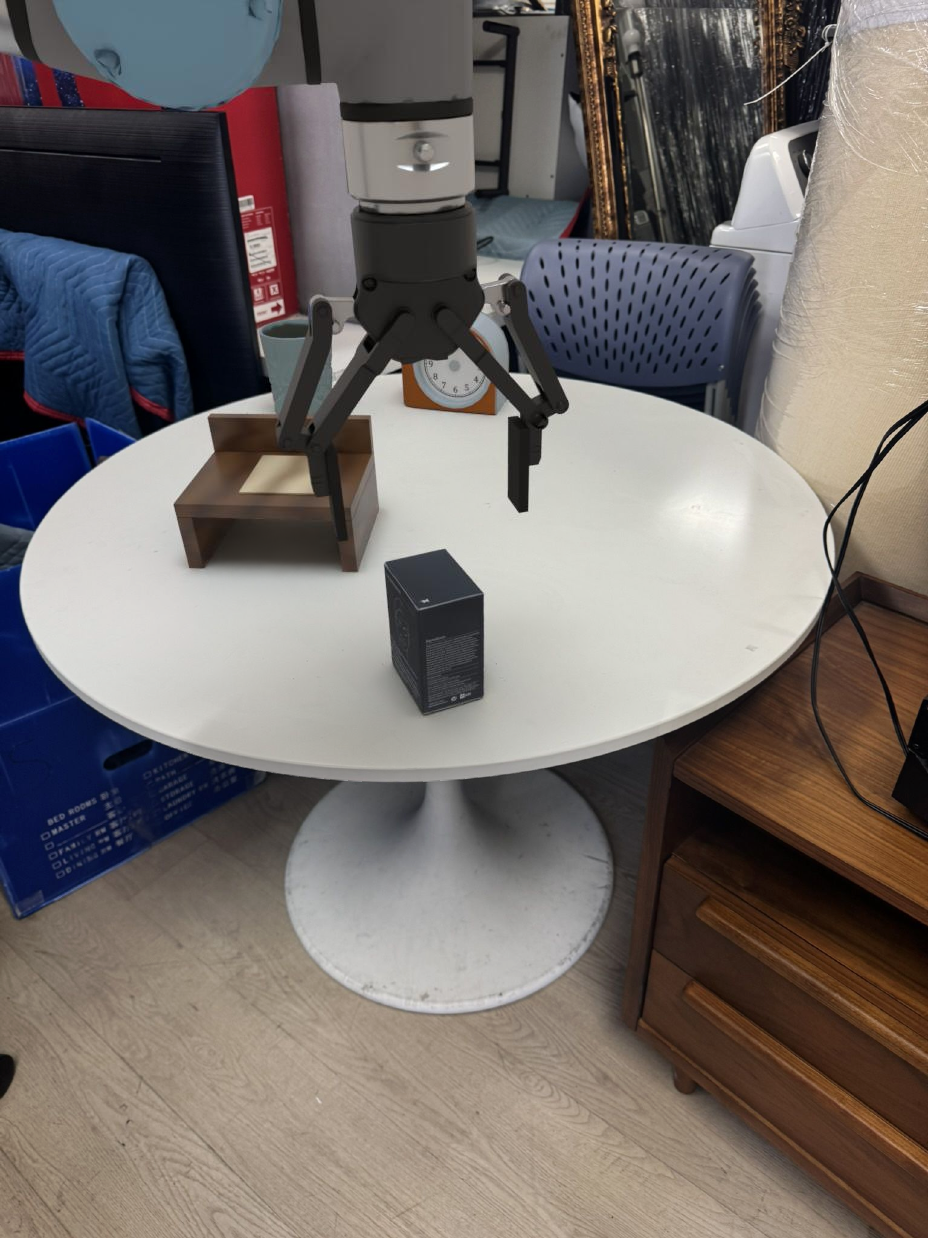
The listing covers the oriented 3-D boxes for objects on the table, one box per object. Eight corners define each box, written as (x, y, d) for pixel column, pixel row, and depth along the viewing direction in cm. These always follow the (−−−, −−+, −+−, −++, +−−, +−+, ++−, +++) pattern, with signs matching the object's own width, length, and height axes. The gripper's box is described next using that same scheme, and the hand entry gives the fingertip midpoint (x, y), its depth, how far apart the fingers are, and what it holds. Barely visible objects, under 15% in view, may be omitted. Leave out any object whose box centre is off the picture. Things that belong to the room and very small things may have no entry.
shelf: (188, 567, 86) (163, 467, 79) (229, 505, 97) (210, 413, 91) (357, 571, 85) (346, 469, 78) (379, 508, 96) (370, 414, 89)
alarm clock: (399, 407, 122) (393, 313, 115) (417, 387, 129) (413, 298, 121) (494, 415, 119) (495, 320, 111) (508, 395, 125) (510, 304, 118)
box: (485, 698, 68) (485, 592, 62) (422, 717, 66) (416, 610, 60) (449, 646, 74) (446, 545, 68) (390, 662, 72) (381, 560, 66)
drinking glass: (259, 409, 123) (245, 328, 116) (315, 392, 128) (305, 313, 121) (296, 428, 116) (284, 343, 109) (353, 409, 122) (345, 327, 115)
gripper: (196, 229, 43) (265, 571, 55) (633, 194, 48) (607, 515, 60) (195, 206, 49) (257, 520, 61) (584, 178, 54) (569, 473, 66)
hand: (431, 518), depth 61 cm, fingers open, 13 cm apart
